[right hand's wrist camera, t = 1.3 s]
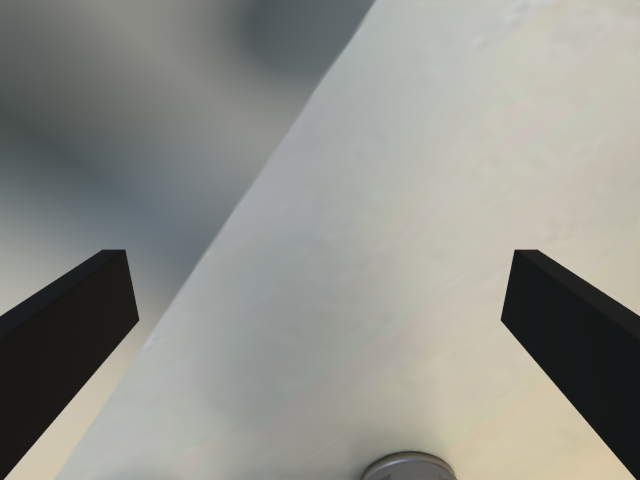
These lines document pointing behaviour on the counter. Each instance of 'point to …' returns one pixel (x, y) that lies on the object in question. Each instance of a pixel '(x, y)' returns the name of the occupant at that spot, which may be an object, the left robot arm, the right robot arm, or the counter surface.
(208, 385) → the counter surface
